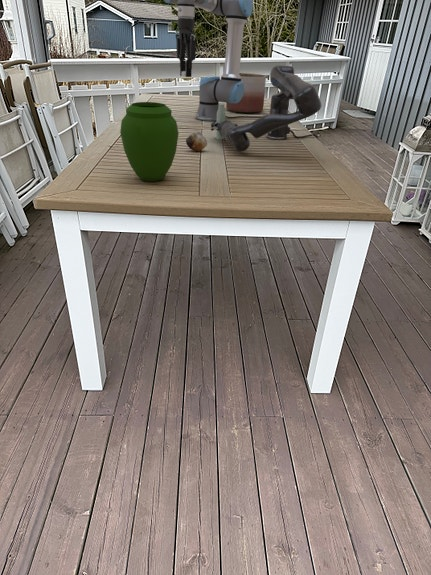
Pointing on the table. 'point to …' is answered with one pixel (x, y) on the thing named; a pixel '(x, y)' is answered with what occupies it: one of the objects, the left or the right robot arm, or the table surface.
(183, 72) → the cap
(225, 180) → the table surface
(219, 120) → the bottle
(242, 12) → the left robot arm
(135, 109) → the vase
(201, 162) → the table surface
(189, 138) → the seashell
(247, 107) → the planter
